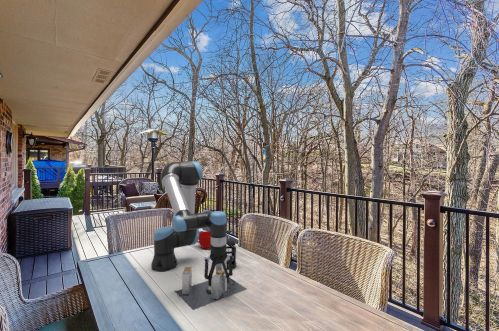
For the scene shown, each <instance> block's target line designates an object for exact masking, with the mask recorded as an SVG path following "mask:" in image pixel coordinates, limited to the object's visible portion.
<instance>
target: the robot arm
mask: <svg viewBox="0 0 499 331" xmlns="http://www.w3.org/2000/svg"><path fill="white" fill-rule="evenodd" d="M203 174H204V173H203V168H202V166H201V164H200V163H199V162H198V161H192V160H189V161H188V160H186V161H185V160H184V161H171V162H169V163H167V164H166V165H165V166H164V167H163V168H162V170H161V172H160V181H161V185H162V186H164V187H165V192H166V194H167V196H168V200H169V202H170V206H171V208H172V211H173V214H174V216H173V217H172V219H171V223H172V226H162V227H160V228H157V229H156V230H155V231H154V233H153V258H152V261H151V265H150V266H151V270H152V271H154V272H168V271H172V270H174V269H176V268H177V267H178V260H177V259H178V258H177V256H176V255H175V249H176V248H182V247H189V246H194V245H196V244H197V243H198V242H197V241H199V240H198V239H199V233H200V230H201V229H206V228H208V229H210V233H211V234H210V236H211V248H210V253H209V256H208V257H204V258H203V260H204V274H203V275H204V276H203V277H204V278H205V280H207V281H208V284H209V286H211V293H212V277H213V276H214V273H215V270H216V264H222V266H223V269H224V271H225V274H226V275H225V276H224V289H225V291H227V283H229V277H231V276H233V274H234V273H233V269H232V266H233V265H232V258H233V256H232V254H229V255H228V254H227V253H226V251H227V249H226V246H227V244H226V239H227V232H226V231H227V214H226V212H224V211H222V210H219V211H218V210H216V211H212V210H209V209H208V210H207V209H206V210H203V211H202V212H198V213H195V210H196V209H195V207H196V191H197V186H198V185H199V183H200V182H199V181H202V180H203V177H204V176H203ZM226 258H228V264H227V265H228V266H229V270H227V268H226V265H225V262H224V261H225V259H226ZM210 261H211V266H210V269H209V263H210Z"/></svg>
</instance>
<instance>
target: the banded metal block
mask: <svg viewBox="0 0 499 331" xmlns="http://www.w3.org/2000/svg"><path fill="white" fill-rule="evenodd" d="M223 293H224V271H219V270H218V271H217V272H216V271H215V274H213V276H212V298H213V299H219V298H220V297H221V295H222V294H223Z"/></svg>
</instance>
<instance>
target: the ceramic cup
mask: <svg viewBox="0 0 499 331" xmlns="http://www.w3.org/2000/svg"><path fill="white" fill-rule="evenodd" d="M210 234H211V233H210V231H207V230H206V231H201V232H200V231H199V239H198V241H197V243H198V244H199V245H200V246H201V248H202V249H203V250H208V249H209V250H211V236H210Z"/></svg>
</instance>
